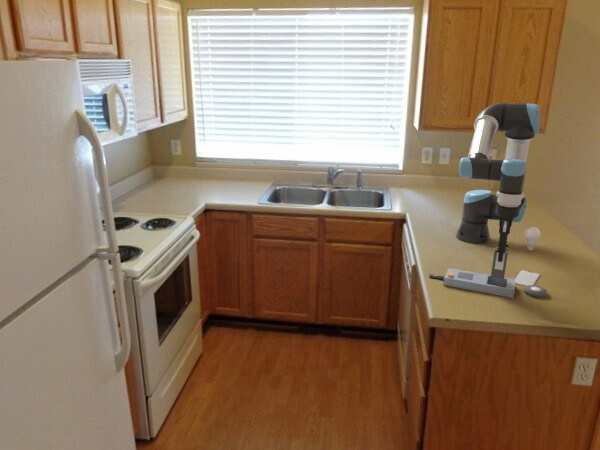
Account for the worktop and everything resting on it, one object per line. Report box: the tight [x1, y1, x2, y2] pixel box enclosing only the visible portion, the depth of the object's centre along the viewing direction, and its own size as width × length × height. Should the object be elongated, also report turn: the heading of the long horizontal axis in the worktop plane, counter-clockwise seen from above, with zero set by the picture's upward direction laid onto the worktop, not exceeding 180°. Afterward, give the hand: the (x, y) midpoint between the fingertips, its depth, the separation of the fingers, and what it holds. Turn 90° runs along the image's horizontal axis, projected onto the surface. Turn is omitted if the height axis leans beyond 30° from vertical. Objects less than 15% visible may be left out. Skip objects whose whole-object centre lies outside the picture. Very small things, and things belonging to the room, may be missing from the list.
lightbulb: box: [524, 226, 542, 251], centre depth 206 cm, size 6×6×11 cm
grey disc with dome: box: [524, 285, 548, 299], centre depth 166 cm, size 7×7×2 cm
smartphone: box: [513, 269, 541, 287], centre depth 179 cm, size 7×1×15 cm
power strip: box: [429, 267, 516, 299], centre depth 173 cm, size 10×30×4 cm, turn 64°
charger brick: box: [490, 247, 509, 279], centre depth 167 cm, size 4×5×10 cm
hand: (499, 266), depth 167 cm, fingers closed on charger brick, 4 cm apart
